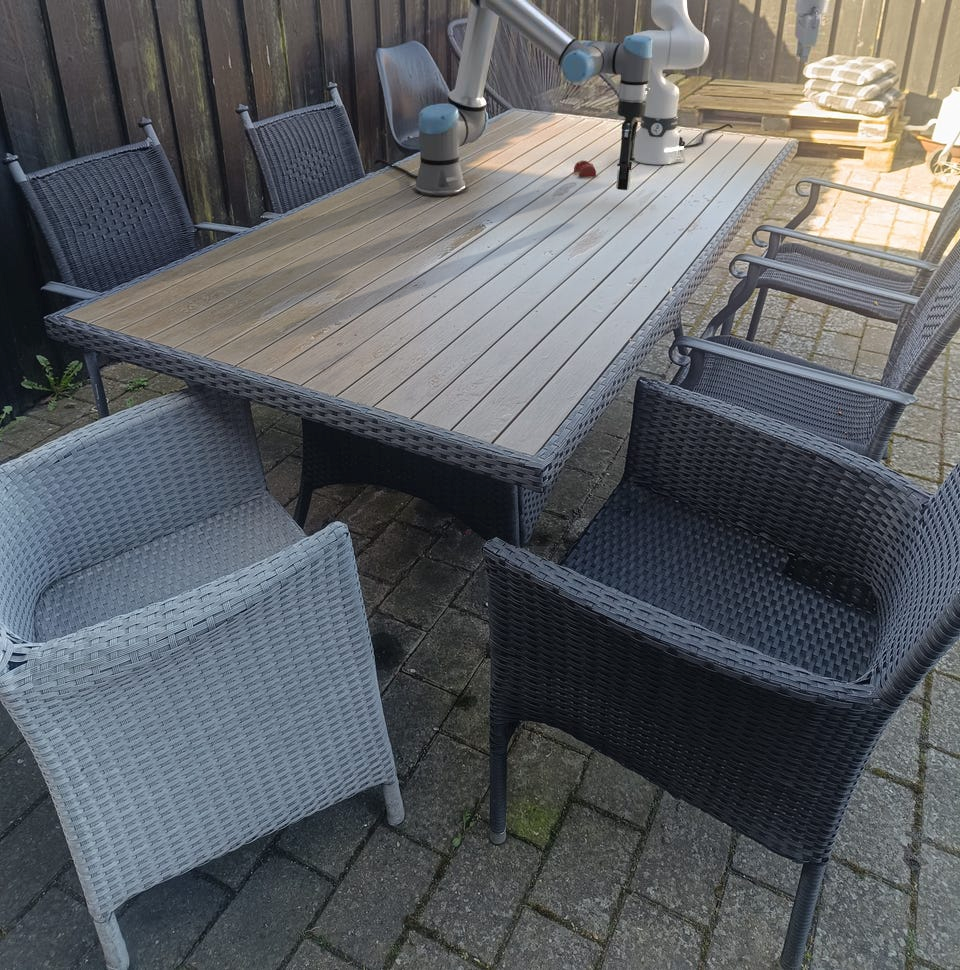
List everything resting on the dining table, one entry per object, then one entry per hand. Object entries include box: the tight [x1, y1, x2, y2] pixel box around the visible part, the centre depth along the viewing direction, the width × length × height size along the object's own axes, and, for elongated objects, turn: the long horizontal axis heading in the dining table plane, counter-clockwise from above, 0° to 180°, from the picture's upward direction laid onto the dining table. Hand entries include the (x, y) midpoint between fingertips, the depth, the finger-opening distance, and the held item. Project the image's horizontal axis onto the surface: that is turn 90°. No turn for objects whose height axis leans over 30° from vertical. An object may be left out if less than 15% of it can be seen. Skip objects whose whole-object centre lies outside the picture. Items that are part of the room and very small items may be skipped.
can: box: [615, 169, 633, 191], centre depth 242 cm, size 4×4×5 cm
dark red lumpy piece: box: [573, 160, 597, 178], centre depth 270 cm, size 6×4×8 cm
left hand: (623, 186), depth 243 cm, fingers closed on can, 4 cm apart
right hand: (801, 59), depth 248 cm, fingers open, 8 cm apart
